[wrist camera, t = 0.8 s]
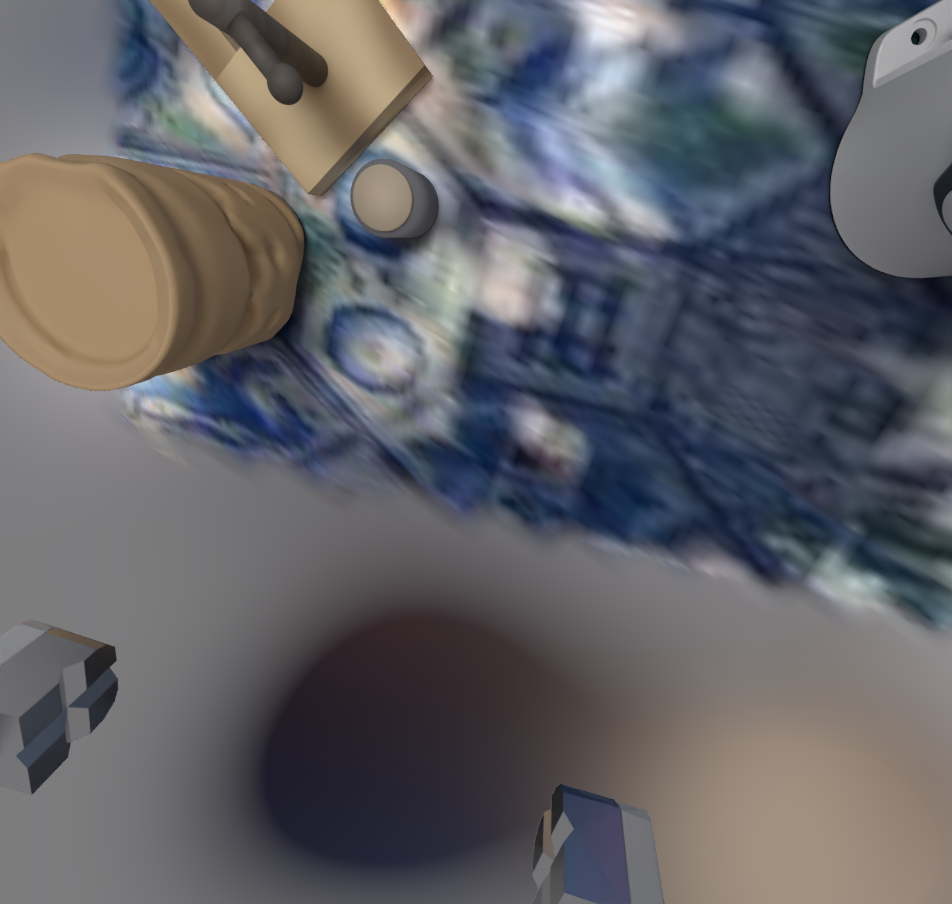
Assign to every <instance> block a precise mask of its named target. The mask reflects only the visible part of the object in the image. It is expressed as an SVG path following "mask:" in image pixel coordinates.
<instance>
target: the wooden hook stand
mask: <svg viewBox="0 0 952 904" xmlns="http://www.w3.org/2000/svg"><path fill="white" fill-rule="evenodd" d="M150 1H151V2H152V3H153V4H154V6H155V7H156V8H157V9H158V11H159V12H160V13H161V14H162V15H163V17H164V18H165V19H166V20H167V22H168V23H169V24H170V25H171V26H172V28H173V29H174V30H175V31H176V33H177V34H178V35H179V36H180V38H181V39H182V40H183V41H184V42H185V44H186V45H187V46H188V47H189V49H190V50H191V51H192V52H193V53H194V55H195V56H196V57H197V58H198V60H199V61H200V62H201V63H202V65H203V66H204V67H205V68H206V69H207V71H208V72H209V73H210V74H211V76H212V77H213V78H214V79H215V80H216V82H217V83H218V84H219V85H220V87H221V88H222V89H223V90H224V91H225V93H226V94H227V95H228V96H229V98H230V99H231V100H232V101H233V103H234V104H235V105H236V106H237V107H238V109H239V110H240V111H241V112H242V114H243V115H244V116H245V117H246V118H247V120H248V121H249V122H250V123H251V125H252V126H253V127H254V128H255V130H256V131H257V132H258V133H259V134H260V136H261V137H262V138H263V139H264V141H265V142H266V143H267V144H268V145H269V147H270V148H271V149H272V150H273V152H274V153H275V154H276V155H277V156H278V158H279V159H280V160H281V161H282V163H283V164H284V165H285V166H286V168H287V169H288V170H289V171H290V172H291V174H292V175H293V176H294V177H295V179H296V180H297V181H298V182H299V183H300V185H301V186H302V187H303V188H304V190H305V191H306V192H307V193H308V194H312V195H317V196H323V195H324V194H325V192H326V191H327V190H328V189H329V188H330V187H331V186H332V185H333V184H334V183H335V182H336V181H337V179H338V178H339V177H340V176H341V175H342V174H343V173H344V172H345V171H346V170H347V169H348V168H349V166H350V165H351V164H352V163H353V162H354V161H355V160H356V159H357V158H358V157H359V156H360V155H361V153H362V152H363V151H364V150H365V149H366V148H367V147H368V146H369V145H370V144H371V143H372V142H373V140H374V139H375V138H376V137H377V136H378V135H379V134H380V133H381V132H382V131H383V130H384V129H385V127H386V126H387V125H388V124H389V123H390V122H391V121H392V120H393V119H394V118H395V117H396V116H397V114H398V113H399V112H400V111H401V110H402V109H403V108H404V107H405V106H406V105H407V104H408V103H409V101H410V100H411V99H412V98H413V97H414V96H415V95H416V94H417V93H418V92H419V91H420V90H421V88H422V87H423V86H424V85H425V84H426V83H427V82H428V81H429V80H430V79H431V78H432V77H433V76H432V74H431V73H430V72H429V70H428V69H427V67H426V66H425V65H424V63H423V62H422V61H421V59H420V58H419V56H418V55H417V54H416V52H415V51H414V49H413V48H412V47H411V45H410V44H409V42H408V41H407V40H406V38H405V37H404V36H403V34H402V33H401V31H400V30H399V29H398V27H397V26H396V24H395V23H394V22H393V20H392V19H391V17H390V16H389V15H388V13H387V12H386V11H385V9H384V8H383V6H382V5H381V4H380V2H379V1H378V0H275V1H274V3H273V4H272V5H271V7H270V8H269V9H268V11H267V12H265V11H264V10H262V9H261V8H260V7H258V6H257V5H256V4H255V3H253V2H252V1H251V0H150Z"/></svg>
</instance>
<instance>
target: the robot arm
mask: <svg viewBox="0 0 952 904" xmlns="http://www.w3.org/2000/svg"><path fill="white" fill-rule="evenodd" d="M913 32H916V33H918V34H919V36H920V40H919V43H918V45H914V44H912V42H911V36H912V34H913ZM830 197H831V207H832V213H833V217H834V221H835V224H836V227H837V229H838V232H839V234H840V235H841V237H842V239H843V241H844V242H845V244H846V245H847V246H848V248H849V249H850V250H851V251H852V252H853V253H854V254H855V255H856V256H857V257H858V258H859V259H860V260H862V261H863V262H864V263H866V264H867V265H869V266H871V267H872V268H874V269H877V270H879V271H881V272H884V273H887V274H890V275H894V276H899V277H906V278H930V277H941V276H952V0H940V1H938V2H936V3H934V4H933V5H931V6H929V7H928V8H926V9H924V10H922V11H921V12H919V13H917V14H915V15H914V16H912V17H910V18H908V19H907V20H905V21H903V22H901V23H900V24H898V25H896V26H894V27H893V28H891V29H889V30H888V31H886V32H885V33H883V34H882V35H881V36H880V37H879V38H878V39H877V40H876V41H875V43H874V44H873V46H872V48H871V50H870V53H869V56H868V60H867V65H866V70H865V77H864V85H863V94H862V97H861V100H860V103H859V105H858V108H857V110H856V112H855V114H854V116H853V118H852V120H851V122H850V124H849V126H848V127H847V129H846V131H845V133H844V136H843V138H842V140H841V143H840V145H839V148H838V151H837V154H836V157H835V161H834V165H833V170H832V176H831V186H830ZM116 660H117V659H116V651H115V647H114V646H111V645H108V644H105V643H102V642H99V641H96V640H93V639H90V638H87V637H84V636H81V635H78V634H75V633H72V632H69V631H66V630H63V629H61V628H58V627H55V626H51V625H48V624H45V623H42V622H39V621H36V620H32V619H31V620H28V621H25V622H22V623H19V624H17V625H16V626H14V627H13V628H11V629H10V630H9V631H7V632H6V633H4V634H3V635H1V636H0V786H2V787H5V788H9V789H12V790H16V791H19V792H23V793H26V794H29V795H32V794H33V793H34V792H35V791H36V790H37V789H38V788H39V787H40V786H41V785H42V784H43V783H44V782H45V781H46V780H47V779H48V778H49V777H50V776H51V775H52V774H53V772H54V771H55V770H56V769H57V768H58V767H59V766H60V765H61V764H62V763H63V762H64V761H65V760H66V759H67V758H68V755H69V749H70V744H71V742H73V741H76V740H78V739H80V738H82V737H84V736H87V735H89V734H91V733H92V731H93V730H94V729H95V728H96V727H97V726H98V725H99V724H100V723H101V722H102V721H103V719H104V718H105V717H106V715H107V713H108V711H109V709H110V708H111V707H112V705H113V703H114V702H115V698H116V695H117V691H118V678H117V677H116V676H115V674H114V673H113V671H112V670H111V669H110V667H111V665H113V664H114V663H115V662H116ZM532 875H533V877H534V880H535V882H536V884H537V886H538V888H539V891H538V893H537V895H536V897H535V899H534V901H533V903H532V904H664V898H663V893H662V886H661V879H660V873H659V867H658V861H657V856H656V849H655V843H654V837H653V831H652V825H651V819H650V817H649V815H648V813H647V811H646V810H644V809H641V808H637V807H634V806H630V805H627V804H623V803H620V802H616V801H615V800H614V799H610V798H607V797H603V796H600V795H596V794H593V793H590V792H586V791H583V790H579V789H576V788H573V787H569V786H566V785H562V784H559V785H558V786H557V787H556V789H555V791H554V793H553V795H552V807H551V810H548V811H546V812H544V814H543V816H542V819H541V821H540V823H539V826H538V831H537V835H536V839H535V844H534V853H533V867H532Z"/></svg>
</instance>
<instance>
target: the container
mask: <svg viewBox="0 0 952 904" xmlns="http://www.w3.org/2000/svg"><path fill="white" fill-rule="evenodd" d="M303 252H304V234H303V229H302V227H301V224H300V222H299V219H298V217H297V216H296V214H295V213H294V212H293V210H292V209H291V207H290V206H289V204H287V203H286V202H285V201H284V200H283V199H282V198H280V197H279V196H278V195H276V194H275V193H273V192H271V191H268V190H265V189H263V188H261V187H259V186H256V185H253V184H249V183H246V182H242V181H237V180H232V179H227V178H222V177H216V176H211V175H206V174H201V173H195V172H190V171H185V170H180V169H174V168H169V167H163V166H159V165H154V164H149V163H144V162H138V161H133V160H128V159H122V158H117V157H109V156H94V155H79V154H71V155H64V156H60V157H57V158H55V157H52V156H48V155H44V154H41V153H33V154H27V155H23V156H19V157H17V158H14V159H11V160H9V161H6V162H1V163H0V338H1V339H2V341H3V342H4V343H5V344H6V345H7V346H8V347H9V348H10V349H11V350H12V351H13V352H14V353H15V354H16V355H18V356H19V357H20V358H22V359H23V360H24V361H26V362H27V363H29V364H30V365H32V366H33V367H34V368H36V369H38V370H40V371H41V372H43V373H44V374H46V375H47V376H49V377H50V378H52V379H53V380H55V381H58V382H60V383H63V384H66V385H69V386H72V387H76V388H81V389H86V390H91V391H92V390H93V391H110V390H115V389H120V388H124V387H128V386H131V385H134V384H137V383H140V382H143V381H146V380H149V379H151V378H153V377H155V376H158V375H163V374H166V373H170V372H173V371H177V370H180V369H183V368H186V367H188V366H191V365H194V364H197V363H200V362H202V361H204V360H206V359H208V358H210V357H212V356H214V355H220V354H226V353H230V352H234V351H236V350H239V349H242V348H245V347H248V346H251V345H254V344H257V343H261V342H263V341H266V340H269V339H271V338H272V337H273V336H274V335H275V334H276V333H277V332H278V331H279V330H280V329H281V328H282V327H283V326H284V324H285V323H286V322H287V321H288V319H289V318H290V316H291V314H292V311H293V306H294V300H295V294H296V286H297V281H298V277H299V273H300V269H301V265H302V259H303Z"/></svg>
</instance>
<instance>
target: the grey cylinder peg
mask: <svg viewBox="0 0 952 904" xmlns="http://www.w3.org/2000/svg"><path fill="white" fill-rule="evenodd" d="M351 205H352V209H353V212H354V214H355V216H356V218H357V220H358V221H359V223H360V224H361V225H362V226H363V227H364V228H365V229H366V230H367V231H368V232H370V233H372V234H374V235H376V236H379V237H387V238H416V237H419V236H421V235H423V234H425V233H426V232H427V231H429V229H430V228H431V227H432V226H433V224H434V222H435V220H436V218H437V214H438V197H437V193H436V191H435V189H434V187H433V185H432V184H431V182H430V181H429V180H428V179H427V178H426V177H425V176H423V175H422V174H420V173H418V172H416V171H414V170H412V169H410V168H408V167H406V166H404V165H402V164H400V163H398V162H396V161H393V160H390V159H376V160H373V161H371V162H369V163H367V164H365V165H364V166H363V167H362V168H361V169H360V170H359V171H358V173H357V174H356V176H355V178H354V180H353V183H352V187H351Z"/></svg>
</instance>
